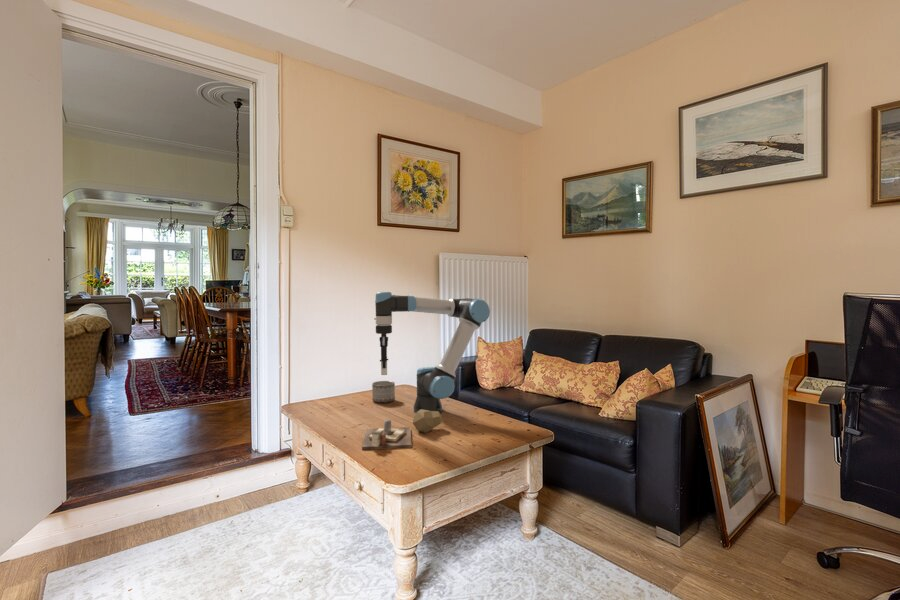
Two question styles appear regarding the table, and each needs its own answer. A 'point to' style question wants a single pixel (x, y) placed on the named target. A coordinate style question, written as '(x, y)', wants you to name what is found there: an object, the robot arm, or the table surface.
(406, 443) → the post board
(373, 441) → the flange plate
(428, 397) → the robot arm
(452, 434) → the table surface
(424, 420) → the low-poly potato
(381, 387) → the planter
